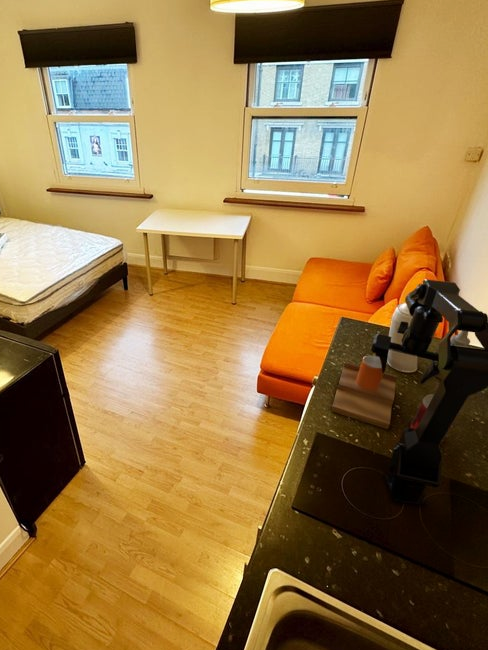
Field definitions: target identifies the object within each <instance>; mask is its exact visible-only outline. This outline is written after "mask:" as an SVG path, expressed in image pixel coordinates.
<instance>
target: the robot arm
mask: <svg viewBox="0 0 488 650" xmlns="http://www.w3.org/2000/svg"><path fill="white" fill-rule="evenodd" d="M460 291H461V289H460V287H459V286H458V285H457V283H456V282H453V281H445V280H436V279H425V278H424V279H423V280H422V283H418V285H417V286H416V287H415V288H414V289H413V290H411V291H410V292H409V293H407V295H406V296H405V297H404V303H406V305H407V308H408V310H409V313H410V315H411V316H412V319H411V322H410V324H409V325H408V322H404V321H400V323H399V326H398V329H397V333H400V334H404V335H403V337H402V341H401V342H402V345H401V344H397V343H392V342H391V337H390V336H389V335H385V334H381V333H376V334H374V336H373V338H372V343H371V348H370V351H371V352H372V353H374V356H377V357H379V358H380V361H381V365H382V373H384V372H385V371H386V370H387V366H386V364H388V362H387V358H388V351H389V350H392V351H396V352H400V353H404V354H408V355H412V356H417V358H422V359H426V360H430V362H429V364H428V366H427V368H426V369H425V371H424V372H423V375H422V376H421V378H420V381H419V383H420V384H424V383H425V382H427V381H429V380H430V379H432V378H433V377H436V376H435V375H438V374H440V376H441V379H440V383H439V385H438V386H437V388H436V390H435V391H434V394H433V395H434V396H433V398H432V400H431V402H430V404H429V405H428V407H427V409H426V411H425V413H424V415H423V417H422V419H421V421H420V423H419V424H418V426H417V428H416V429H413V428H411V427H405V428H404V429H403V431H402V434H401V435H400V437H399V438H398V439H399V440H398V442H396V443H395V444H394V447H393V448H392V453H391V458H390V465H389V467H388V471H389V472H390V473H391V474H392V476H391V475H386V476H385V480H386V484H387V487H388V491H389V493H390V496H391V499H392V501H393V502H395V503H402V504H408V505H415V506H424V504H425V503H424V500H423V497H422V494H423V492H424V490H425V489H426V486H429V487H433V488H435V489H437V488H439V487H440V486H441V479H442V477H441V476H442V465H443V464H442V463H443V458H444V456H443V453H442V449H441V443H442V442H443V441H444V440H443V438H444V436H445V435H446V433H447V432H448V433H449V431H450V430H449V428H450V427H451V428H452V426H453V425H452V423H453V422H454V423H455V421H456V419H457V418H458V416H457V415H459V414H460V412H461V410H462V408H463V407H464V405H465V404H466V402H467V400H468V398H469V397H470V396H472V395H475V394H477V393H479V392H482V391H484V390H486V389H487V388H488V314H487V313H484V312H483V311H482V310H478V309H477V308H476V307H474V306H473V305H472V304H470V302H468V301H467V300H465V299H464V298H463V297H462V296H461V295H460ZM444 319H445V320H446V321H447V322H448V331H447V332H446V333H445V335H444V336H443V337H442V339H440V341H439V343H438V348H437V349H436V352H433V351H430V350H429V348H430V345H431V343H432V341H433V338H434V336H435V335H436V332H437V329H438V327H439V326H440V325H439V324H441V323H443V322H444ZM457 331H460V332H461V331H467V332H468V333H474V335H475V338H476V339H477V341H478V342H479V343H480V344H481V346H482V348H477V347H471V346H469V347H464V346H457V345H451V339H452V337H453V336H454V335H455V333H456V332H457ZM385 373H386V372H385ZM458 413H459V414H458ZM456 417H457V418H456ZM455 418H456V419H455ZM454 420H455V421H454ZM454 423H453V424H454ZM451 425H452V426H451ZM451 428H450V429H451ZM448 430H449V431H448ZM448 433H447V434H448ZM446 436H447V435H446ZM444 439H445V438H444ZM442 440H443V441H442ZM441 441H442V442H441Z"/></svg>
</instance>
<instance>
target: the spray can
mask: <svg viewBox="0 0 488 650" xmlns="http://www.w3.org/2000/svg"><path fill="white" fill-rule="evenodd" d="M411 319H412V316H411V315H410V313H409V310H408V308H407V305H406V303H405V302H402V303H399V304H397V306H396V307H395V309H394V311H393V314H392V316H391V322H390V328H389V332H388V336H390V337H391V342H392V343H397V344H401V345H402V342H401V341H402V337H403V335H404V334H400V333H397V329H398V326H399V323H400V321H404V322H408V325H409V324H410V322H411ZM387 364H388V365H389V367H391V368H392V369H394V370H395V371H398V372H402V373H414V372H416V371H417V370H418V357H417V356H412V355H408V354H404V353H400V352H396V351H392V350H389V351H388V358H387Z"/></svg>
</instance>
